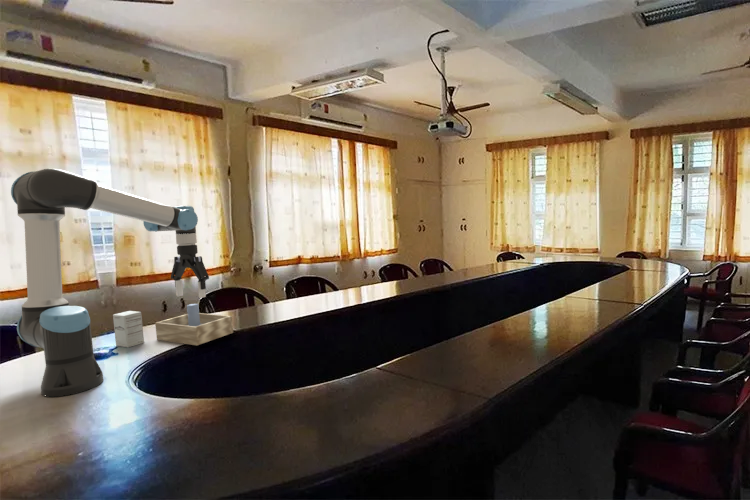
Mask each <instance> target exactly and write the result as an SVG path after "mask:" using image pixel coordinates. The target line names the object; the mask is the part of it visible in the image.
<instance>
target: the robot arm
mask: <svg viewBox="0 0 750 500" xmlns="http://www.w3.org/2000/svg"><path fill="white" fill-rule="evenodd" d="M10 195H11V198H12V200H13V202H14V203H15V204H16V208H17V209H16V210H17V216H18V217H19V218H20V219H22V220H23V222H24V238H25V239H24V240H25V241H24V242H25V260H26V261H25V263H26V264H25V266H26V267H25V269H26V288H27V300H26V301H24V303H23V304H22V305H21V316H20V317H19V318H18V321H17V324H16V331H17V335H18V336H19V337H20V339H21V340H22V341H23V342H25V343H26V344H28V345H30V346H32V347H35V348H42V349H43V354H44V362H45V369H44V373H43V376H42V380H41V385H40V391H41V395H42V394H43V395H46V396H58V397H64V396H63V395H65V396H69V395H70V394H71V395H75V394H79V393H83V392H86V391H87V390H90V389H93V388H96V387H97V386H99V385H101V384H102V383H103V382H104V373H103V371H102V369H101V367H100V365H99V364H98V362H97V360H96V358H95V354H94V346H93V345H94V344H93V337H92V329H91V317H90V315H89V311H88V309H87V308H86V307H84V306H80V305H79V306H78V305H69V301H68V299H66V298H65V297H63V296H64V295H63V281H62V279H63V278H62V253H61V252H62V251H61V233H60V232H61V228H60V221H61V220H62V219H64V218H65V216H66V208H69V209H70V208H72V209H79V210H83V211H88V210H90V209H93V210H98V211H101V212H104V213H110V214H113V215H118V216H121V217H126V218H130V219H135V220H138V221H141V222H143V223H142V224H143V226H144V227H143V228H144V229H145V230H146V231H148V232H169V231H170V232H171V231H172V232H173V231H174V232H175V240H176V242H175V243H176V245H177V246H176V253H177V255H178V256H174V257H173V258H174V262H173V266H172V270H171V274H170V280H173V281H174V286H175V294H176V297H182V296H184V287H183V285H184V284H183V279H182V277H183V275H184V273H185V270H186V269H187V268H188V269H191V271H192V273H193V274H194V275H195V276H196V279H197V280H198V281H197V290H198V291H197V292H198V298H199V299H202V298H206V296H207V295H206V285H207V284H206V281H207V280H209V279H210V276H209V274H208V271H207V269H206V266H205V264H204V262H203V257H202V256H199V255H197V254H198V245H197V242H198V241H197V240H198V239H197V229H196V228H197V227H196V226H197V224H198V221H199V219H198V215H197V213H196V212H195V208H194V207H193V206H192V205H176V206H172V205H167V204H164V203H161V202H157V201H154V200H151V199H147V198H145V197H140V196H137V195H134V194H131V193H127V192H124V191H121V190H117V189H113V188H110V187H107V186H103V185H100V184H98V182H97V181H96V180H95V179H91V178H88V177H85V176H82V175H79V174H75V173H73V172H69V171H68V170H67V171H66V170H63V169H58V168H42V169H39V170H37V171H35V170H34V171H29V172H26V173H23V174H21V175H20V176H18V177H17V178H16V179H15V180H14V181H13V183H12V185H11V189H10ZM43 395H42V396H43ZM71 395H70V396H71ZM46 396H45V397H46Z"/></svg>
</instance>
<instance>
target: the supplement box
mask: <svg viewBox="0 0 750 500" xmlns="http://www.w3.org/2000/svg"><path fill="white" fill-rule="evenodd" d="M112 318H113V319H112V321H113V327H114V328H113V329H114V337H115V339H114V340H115V346H116V347H124V348H131V347H135V346H137V345H141V344H143V343H145V339H144V338H145V337H144V327H143V325H144V324H143V317H142V312H141V311H135V310H127V311H122V312H118V313H114V314H112Z"/></svg>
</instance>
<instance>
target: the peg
mask: <svg viewBox="0 0 750 500" xmlns="http://www.w3.org/2000/svg"><path fill="white" fill-rule="evenodd" d="M199 307H200V306H199V303H190V304H187V305H186V314H188V324H189V326H199V325H200V316H199V313H200V309H199Z"/></svg>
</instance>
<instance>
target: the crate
mask: <svg viewBox="0 0 750 500" xmlns="http://www.w3.org/2000/svg"><path fill="white" fill-rule="evenodd" d="M199 316H200V325H199V326H189V324H188V313H185V314H182V315H179V316H175V317H171V318H168V319H164V320H161V321H160V320H159V321H156V322H155V323H154V324H155V333H156V340H157V341H163V342H164V341H165V342H170V343H171V342H172V343H177V344H178V343H179V344H183V343H184V344H185V345H190V346H191V345H192V346H199V345H202V344H205V343H208V342H210V341H214V340H216V339H219V338H222V337H224V336H229V335H230V334H233V333H234V325H233V323H234V322H233V316H232V315H223V314H222V315H221V314H216V313H215V314H213V313H203V312H202V313H201V312H199Z"/></svg>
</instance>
